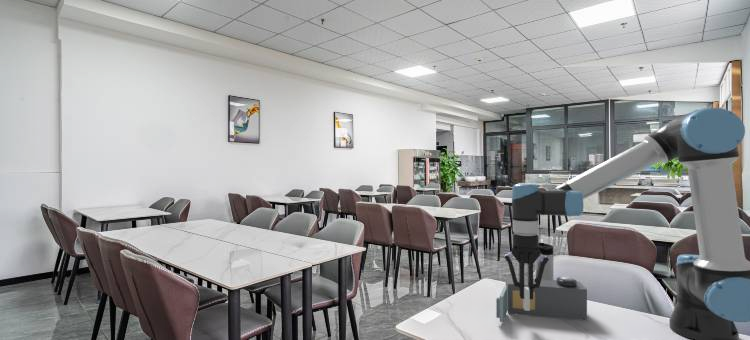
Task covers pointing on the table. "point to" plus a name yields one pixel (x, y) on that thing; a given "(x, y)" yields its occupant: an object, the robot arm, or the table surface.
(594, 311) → the table surface
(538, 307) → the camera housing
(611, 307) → the table surface
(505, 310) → the side door
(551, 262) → the travel mug
